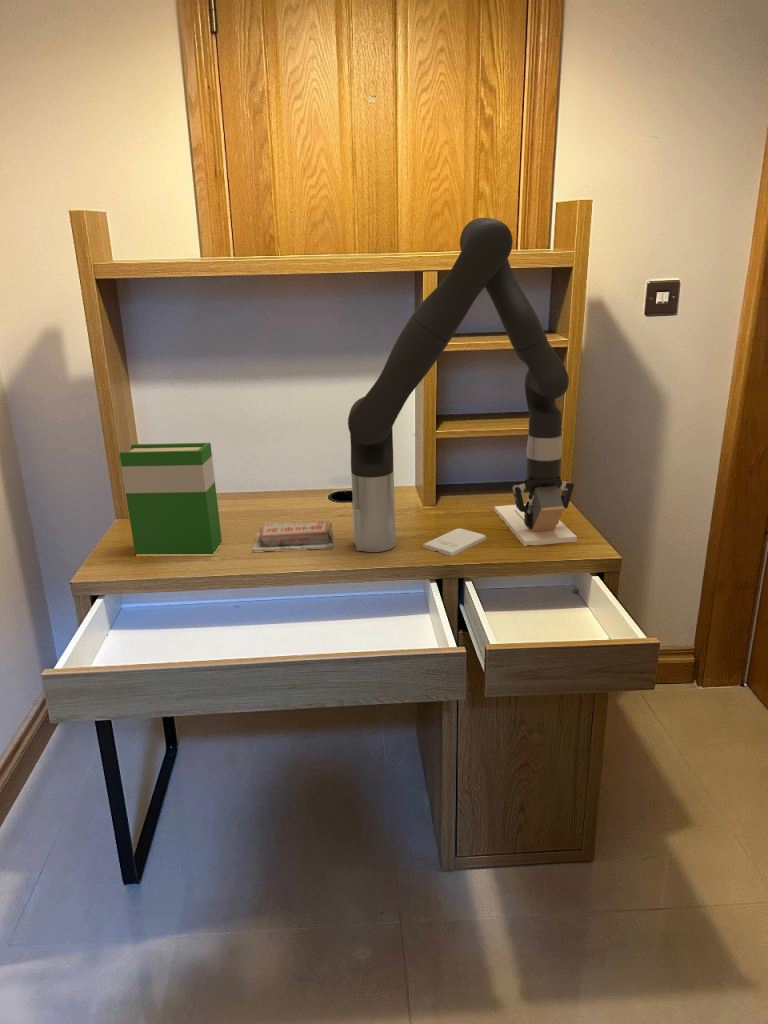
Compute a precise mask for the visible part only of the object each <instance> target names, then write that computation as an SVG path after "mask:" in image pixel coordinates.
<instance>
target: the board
mask: <svg viewBox="0 0 768 1024" xmlns="http://www.w3.org/2000/svg"><path fill="white" fill-rule="evenodd" d="M525 504H526V503H524V505H525ZM493 508H494V509H493V510H494V513H496V515H497V514H498V515H499V516H498V515H497V516H498V517H499V518H500V519H501V521H502V520H503V521H504V522H505V523H504V522H503V521H502V522H503V523H504V524H505V526H506V527H509V528H508V529H509V530H510V532H512V533H513V535H514V534H515V535H514V536H515V537H516V538H517V540H520V541H519V542H520V543H521V544H522V545H523V547H528V546H527V545H532V546H541V545H553V544H564V543H575V542H576V543H577V542H578V541H577V539H578V536H577V535H576V534H575V533H574V532H573V531H571V529H570V528H568V527H567V526H566V525H565V524H564V523H563V521H561V520H560V519H559V523H558V524H557V525H556V527H555V530H553V531H541V532H533V531H532V529H528V527H527V526H526V525H525V523H524V512H521V511H520V510H519V509H518V508H517V507H516V504H509V505H508V504H507V505H497V506H496V505H495V506H493Z"/></svg>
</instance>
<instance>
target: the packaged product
mask: <svg viewBox="0 0 768 1024" xmlns="http://www.w3.org/2000/svg"><path fill="white" fill-rule="evenodd" d="M259 526H260V527H259V531H258V532H257V534H256V535H255V540H254V543H253V547H252V552H253V551H275V550H300V549H301V550H303V549H319V550H332V549H333V545H334V533H335V532H334V530H333V528H332V521H330V520H329V521H328V520H319V521H296V522H294V521H293V522H292V521H291V522H273V523H271V522H270V523H269V522H268V523H262V524H260V525H259Z"/></svg>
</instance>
